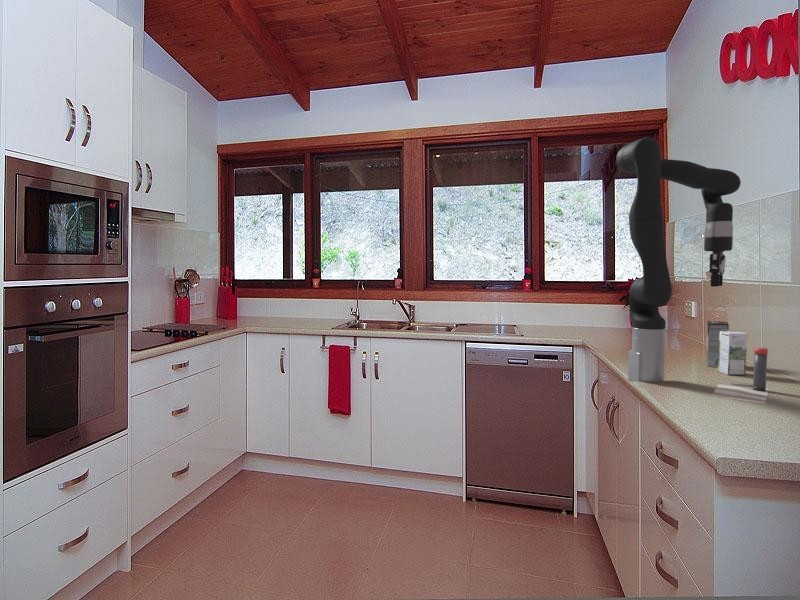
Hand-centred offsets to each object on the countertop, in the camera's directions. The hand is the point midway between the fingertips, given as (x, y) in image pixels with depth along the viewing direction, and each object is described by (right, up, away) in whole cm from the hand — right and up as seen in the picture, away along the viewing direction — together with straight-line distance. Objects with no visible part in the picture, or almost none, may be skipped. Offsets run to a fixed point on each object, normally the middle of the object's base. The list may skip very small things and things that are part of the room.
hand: (716, 286), depth 147 cm
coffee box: (+15, -29, +21) cm, 39 cm away
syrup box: (+10, -30, +7) cm, 32 cm away
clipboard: (-8, -31, -20) cm, 38 cm away
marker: (-1, -30, -18) cm, 35 cm away
